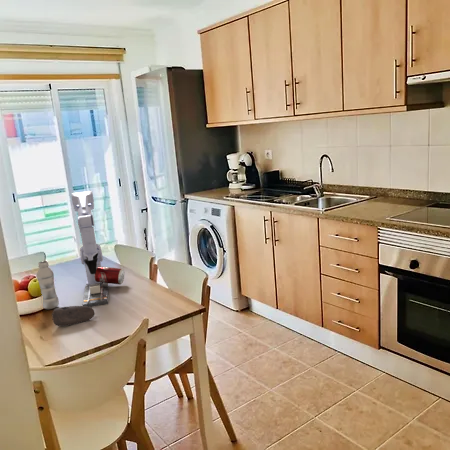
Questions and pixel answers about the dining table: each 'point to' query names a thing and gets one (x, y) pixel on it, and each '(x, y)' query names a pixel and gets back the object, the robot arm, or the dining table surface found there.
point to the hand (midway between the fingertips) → (93, 271)
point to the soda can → (109, 275)
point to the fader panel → (96, 296)
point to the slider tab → (95, 288)
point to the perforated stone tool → (72, 315)
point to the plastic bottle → (47, 285)
